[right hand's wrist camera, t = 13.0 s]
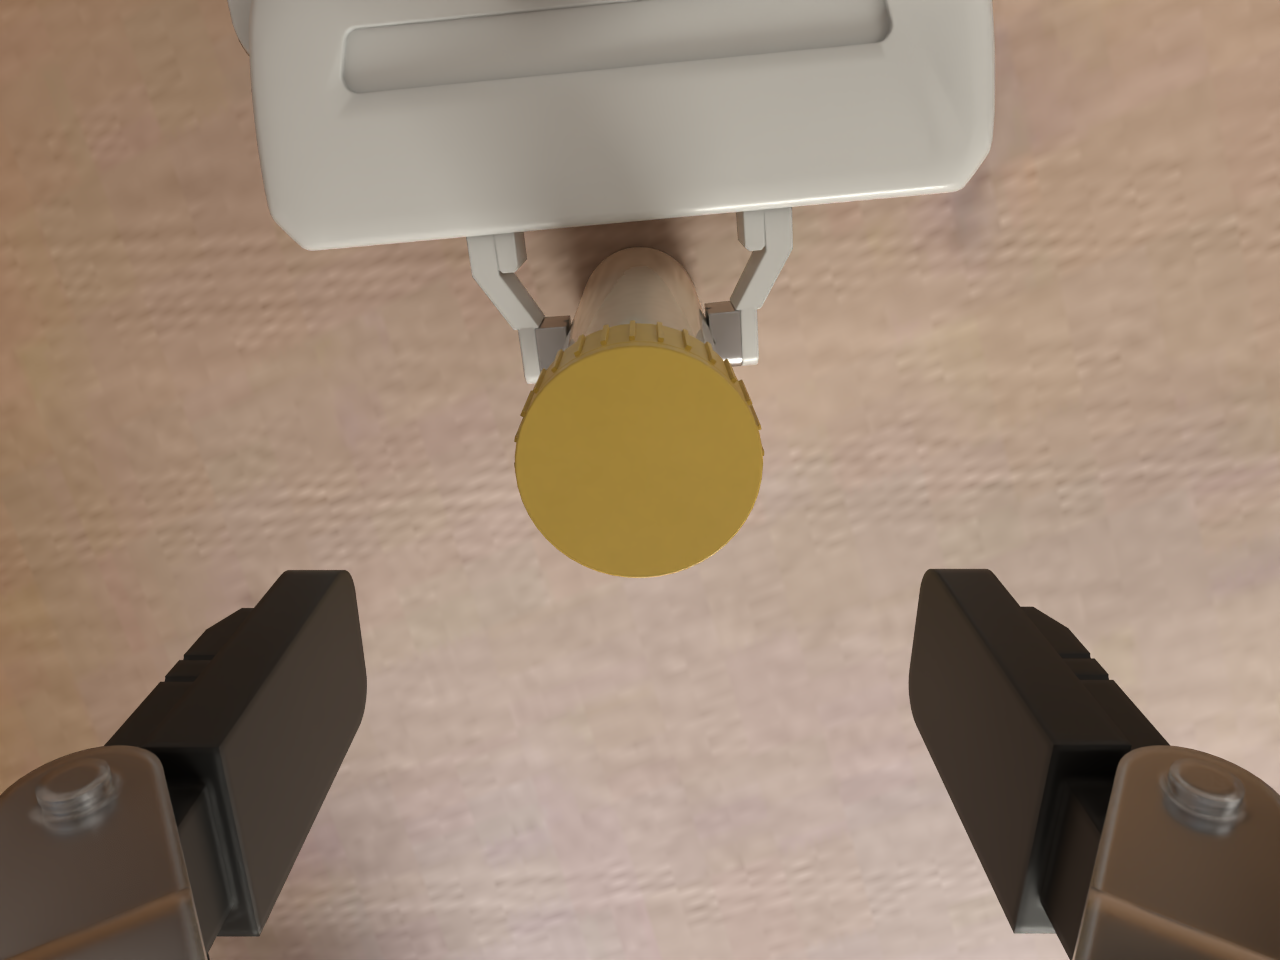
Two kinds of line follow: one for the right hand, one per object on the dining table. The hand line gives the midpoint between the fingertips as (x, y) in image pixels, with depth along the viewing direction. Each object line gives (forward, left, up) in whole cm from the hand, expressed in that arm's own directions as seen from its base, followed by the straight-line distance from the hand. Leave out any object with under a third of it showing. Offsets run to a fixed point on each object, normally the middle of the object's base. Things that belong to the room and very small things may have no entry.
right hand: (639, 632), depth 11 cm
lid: (0, 0, -6) cm, 6 cm away
